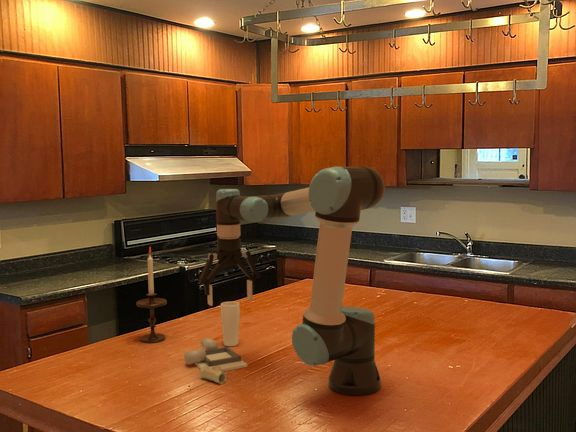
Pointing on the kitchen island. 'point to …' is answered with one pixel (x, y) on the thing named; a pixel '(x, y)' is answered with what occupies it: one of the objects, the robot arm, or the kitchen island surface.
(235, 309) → the drinking glass
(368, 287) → the kitchen island surface
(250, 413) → the kitchen island surface
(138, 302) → the candlestick
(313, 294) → the robot arm
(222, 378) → the pipe fitting
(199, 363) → the coupling board
